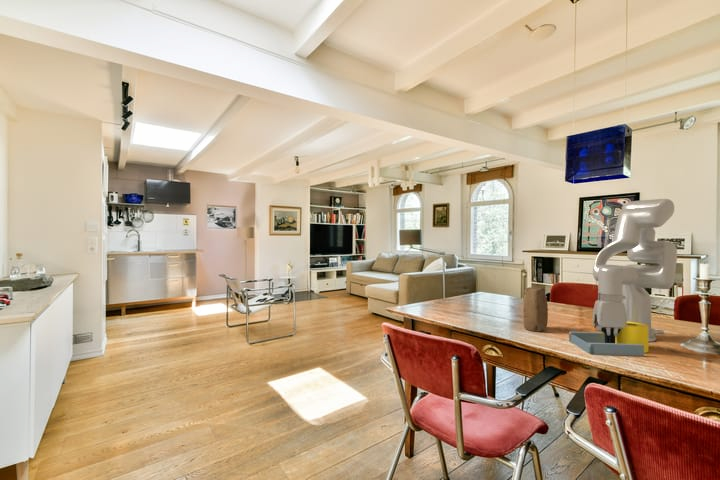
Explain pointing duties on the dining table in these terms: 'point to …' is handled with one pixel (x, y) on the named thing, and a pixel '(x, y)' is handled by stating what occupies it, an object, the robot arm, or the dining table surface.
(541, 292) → the block
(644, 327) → the tape roll
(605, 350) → the grey shallow tray
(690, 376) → the dining table surface
